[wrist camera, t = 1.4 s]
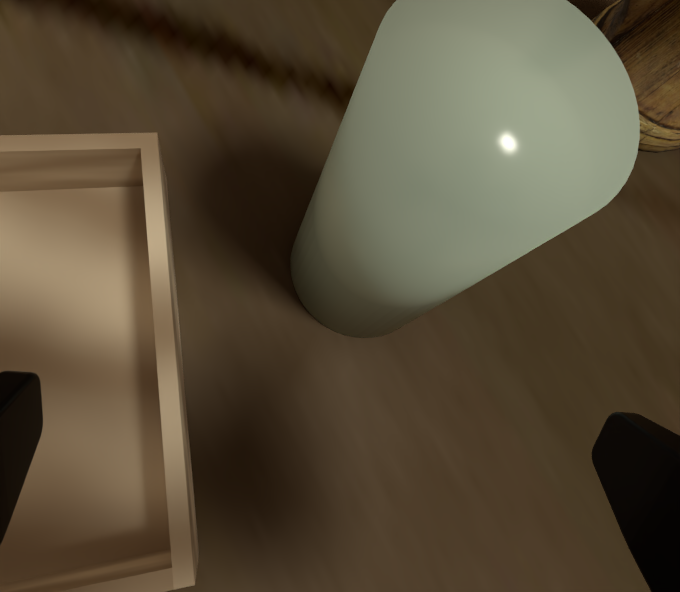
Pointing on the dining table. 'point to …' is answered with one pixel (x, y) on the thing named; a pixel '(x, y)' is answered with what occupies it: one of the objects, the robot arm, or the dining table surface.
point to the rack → (96, 366)
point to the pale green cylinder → (461, 156)
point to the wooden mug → (649, 64)
